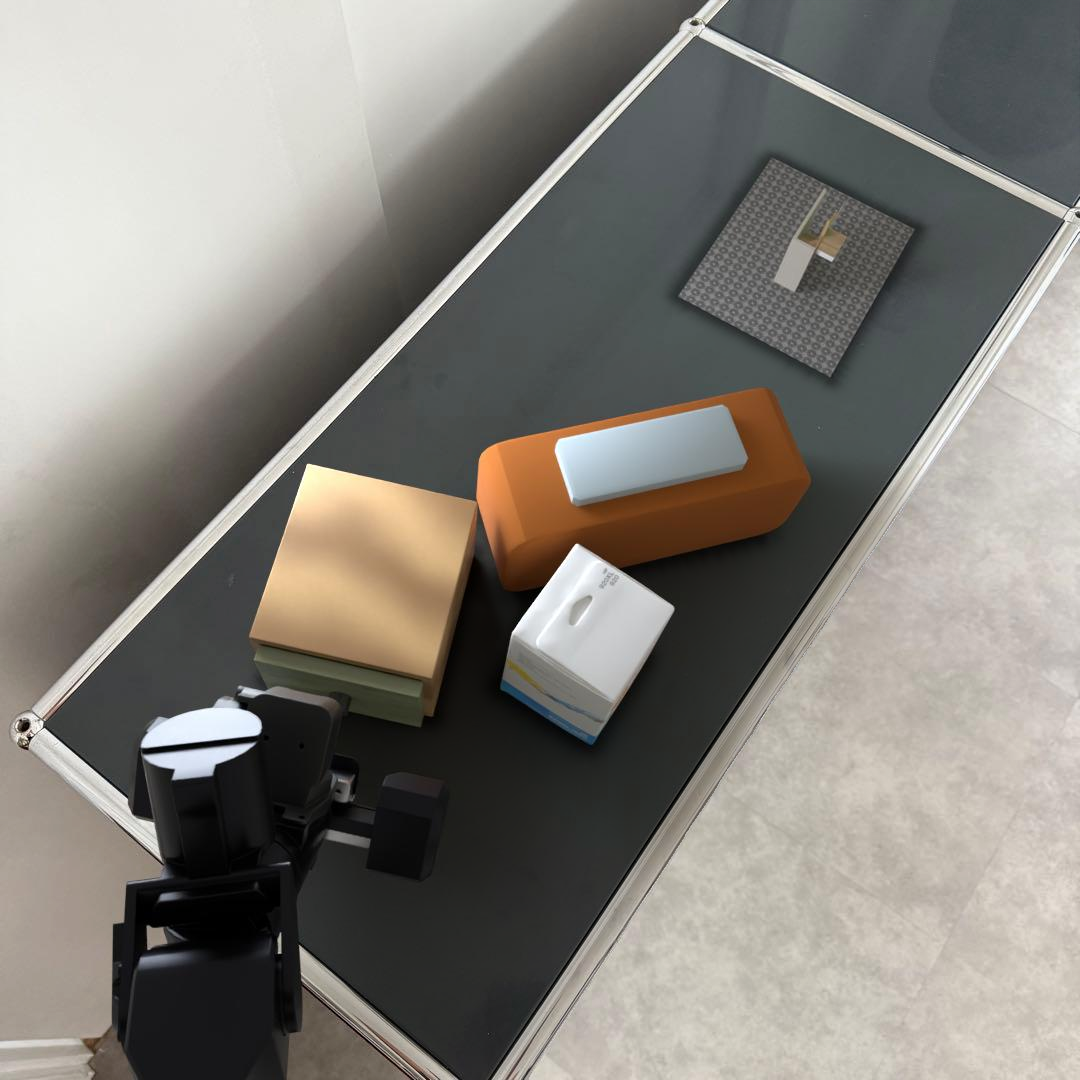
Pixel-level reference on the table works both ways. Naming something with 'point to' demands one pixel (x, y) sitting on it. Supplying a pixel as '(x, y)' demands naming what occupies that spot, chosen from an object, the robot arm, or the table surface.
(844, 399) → the table surface
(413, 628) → the cabinet
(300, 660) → the drawer
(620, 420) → the alarm clock
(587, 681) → the ink box
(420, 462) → the table surface
